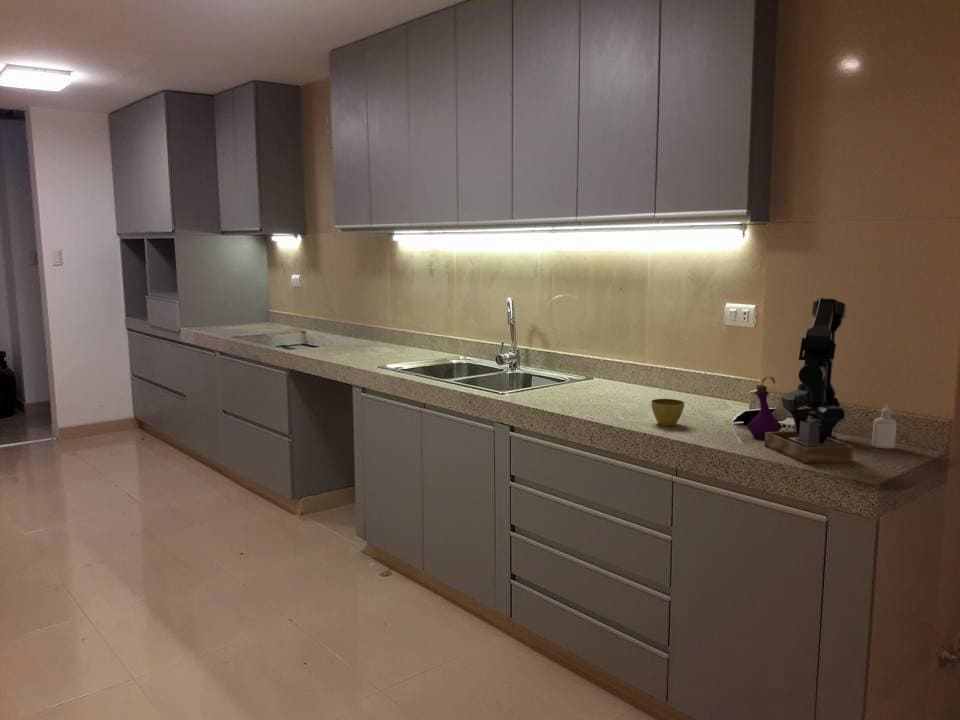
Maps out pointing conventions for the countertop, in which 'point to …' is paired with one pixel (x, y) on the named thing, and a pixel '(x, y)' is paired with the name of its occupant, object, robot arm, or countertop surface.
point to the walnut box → (808, 449)
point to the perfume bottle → (763, 415)
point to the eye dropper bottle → (884, 430)
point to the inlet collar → (796, 440)
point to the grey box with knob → (809, 431)
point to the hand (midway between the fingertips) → (810, 438)
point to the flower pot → (667, 411)
